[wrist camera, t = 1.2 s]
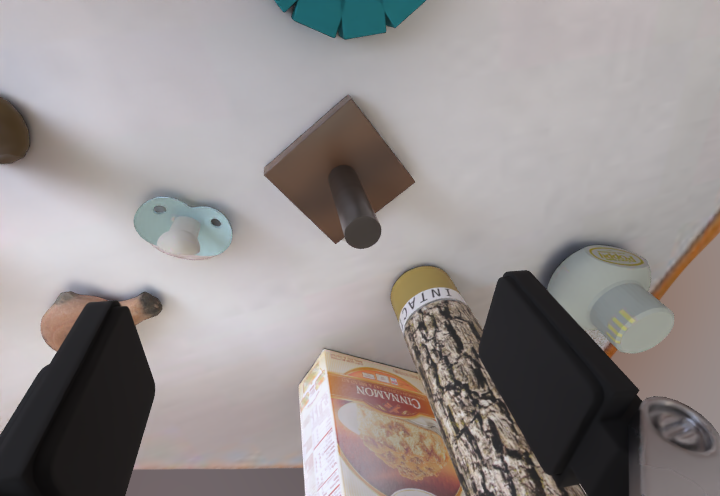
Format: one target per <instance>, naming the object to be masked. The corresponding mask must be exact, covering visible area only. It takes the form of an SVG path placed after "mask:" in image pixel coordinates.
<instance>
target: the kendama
mask: <svg viewBox="0 0 720 496" xmlns="http://www.w3.org/2000/svg"><path fill="white" fill-rule="evenodd" d="M29 146H30V143H29V131H28V129H27V126H26V124H25V122H24V120H23V118H22V116H21V115H20V113H19V112H18V111H17V110H16V109H15V108H14V107H13V106H12V104H11V103H10V102H8V101H6V100H5V99H3V98H1V97H0V164H10V163H13V162H15V161H17V160H19V159H21V158H23V157H24V156H25V154H26V152H27V150H28V148H29Z"/></svg>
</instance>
